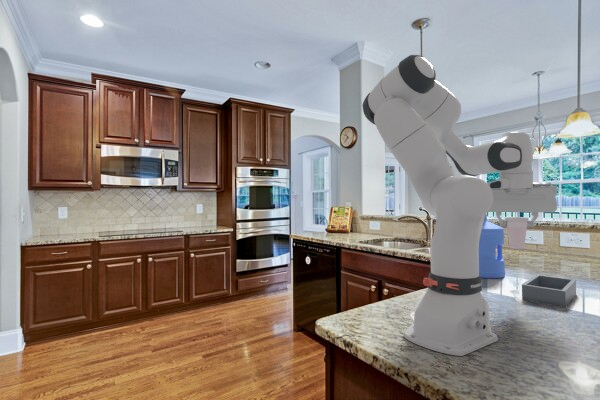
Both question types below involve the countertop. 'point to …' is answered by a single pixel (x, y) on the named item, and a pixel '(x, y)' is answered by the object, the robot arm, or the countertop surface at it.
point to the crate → (549, 290)
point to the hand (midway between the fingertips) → (516, 226)
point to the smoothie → (516, 231)
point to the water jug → (491, 251)
